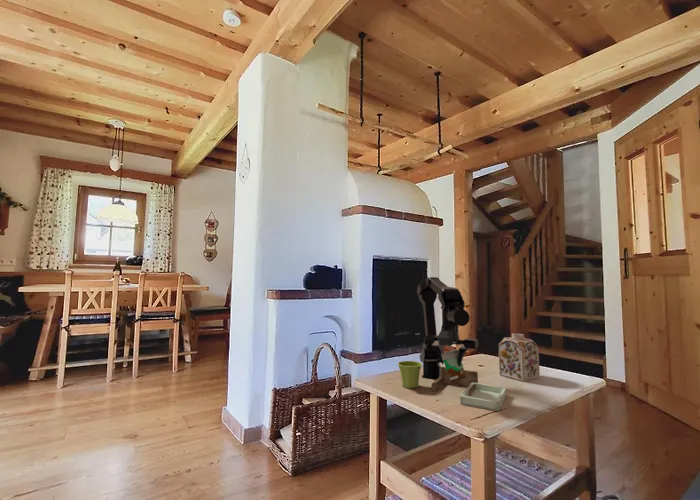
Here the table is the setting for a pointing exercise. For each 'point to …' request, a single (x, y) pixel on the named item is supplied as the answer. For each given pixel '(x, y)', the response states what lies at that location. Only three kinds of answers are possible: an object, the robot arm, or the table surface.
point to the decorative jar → (519, 358)
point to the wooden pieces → (470, 377)
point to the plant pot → (410, 373)
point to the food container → (453, 365)
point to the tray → (484, 396)
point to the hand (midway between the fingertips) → (451, 365)
